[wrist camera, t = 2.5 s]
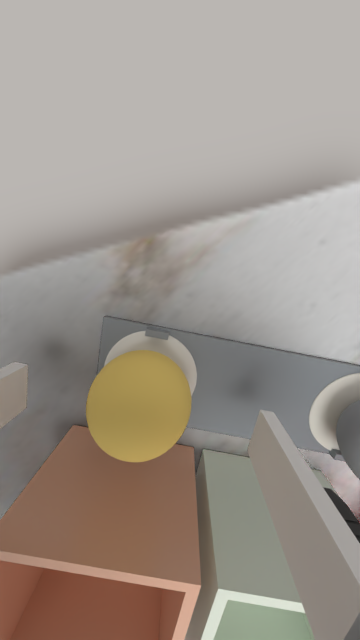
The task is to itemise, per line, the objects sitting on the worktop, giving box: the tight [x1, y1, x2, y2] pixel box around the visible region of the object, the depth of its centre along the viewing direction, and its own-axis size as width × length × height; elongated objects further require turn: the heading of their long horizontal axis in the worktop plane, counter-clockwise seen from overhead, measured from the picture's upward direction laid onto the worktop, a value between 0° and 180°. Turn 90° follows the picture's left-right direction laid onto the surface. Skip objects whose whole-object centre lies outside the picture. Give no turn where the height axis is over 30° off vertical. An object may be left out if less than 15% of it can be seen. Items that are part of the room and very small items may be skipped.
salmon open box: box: [0, 425, 201, 640], centre depth 14 cm, size 10×10×8 cm
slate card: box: [97, 316, 360, 462], centre depth 15 cm, size 24×8×1 cm, turn 79°
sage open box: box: [184, 449, 338, 640], centre depth 14 cm, size 10×10×8 cm
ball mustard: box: [86, 350, 192, 462], centre depth 12 cm, size 6×6×6 cm
